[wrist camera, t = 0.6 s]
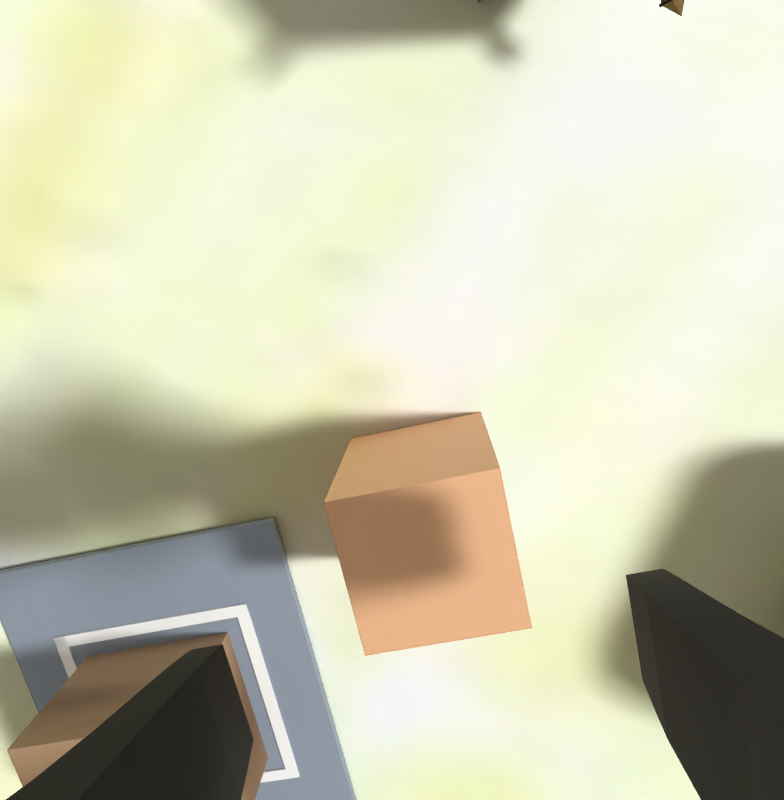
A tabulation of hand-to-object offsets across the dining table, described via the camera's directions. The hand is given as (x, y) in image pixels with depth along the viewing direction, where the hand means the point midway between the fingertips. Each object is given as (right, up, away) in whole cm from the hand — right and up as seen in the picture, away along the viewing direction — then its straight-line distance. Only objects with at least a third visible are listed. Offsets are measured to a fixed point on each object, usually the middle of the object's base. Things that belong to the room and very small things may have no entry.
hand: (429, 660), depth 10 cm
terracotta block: (+1, +2, +8) cm, 8 cm away
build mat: (-8, -6, +10) cm, 14 cm away
